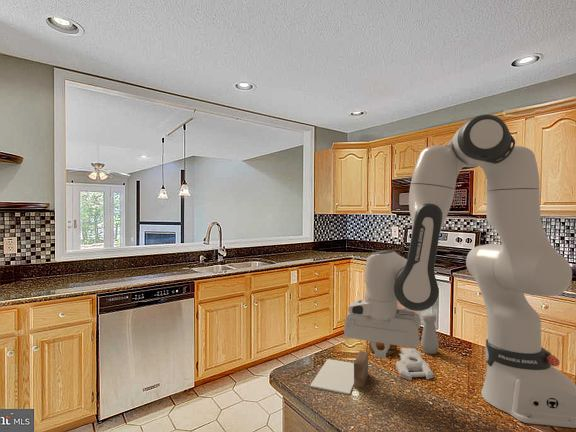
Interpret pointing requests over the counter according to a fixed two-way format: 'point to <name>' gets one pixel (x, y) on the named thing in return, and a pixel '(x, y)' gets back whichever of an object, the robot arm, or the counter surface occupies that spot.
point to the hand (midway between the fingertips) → (380, 357)
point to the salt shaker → (429, 334)
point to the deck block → (360, 369)
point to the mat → (335, 377)
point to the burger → (381, 347)
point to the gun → (412, 364)
